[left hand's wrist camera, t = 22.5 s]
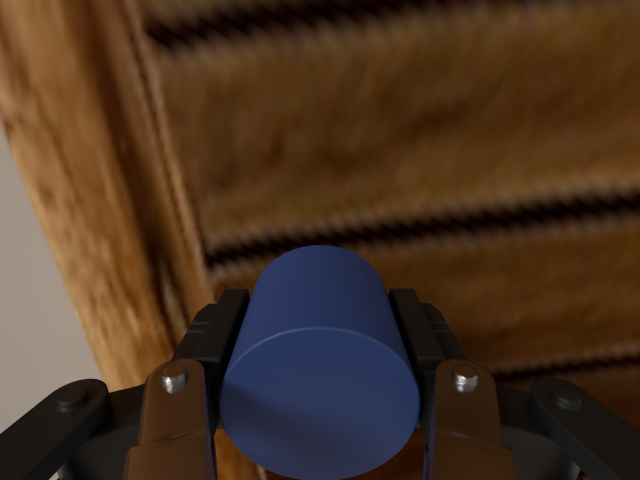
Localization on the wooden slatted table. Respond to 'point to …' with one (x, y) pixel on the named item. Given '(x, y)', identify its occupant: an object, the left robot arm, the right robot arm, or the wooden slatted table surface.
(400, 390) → the canister
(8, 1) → the wooden slatted table surface
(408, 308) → the left robot arm
